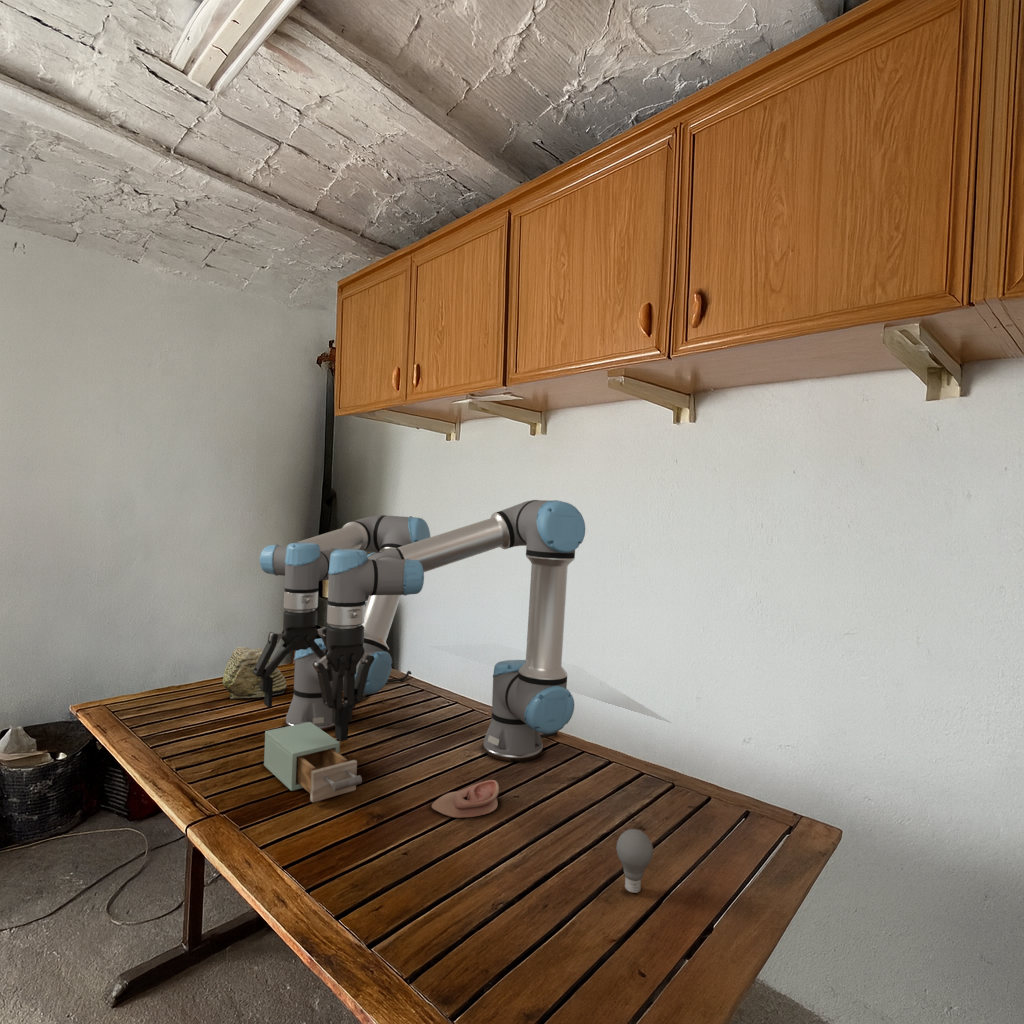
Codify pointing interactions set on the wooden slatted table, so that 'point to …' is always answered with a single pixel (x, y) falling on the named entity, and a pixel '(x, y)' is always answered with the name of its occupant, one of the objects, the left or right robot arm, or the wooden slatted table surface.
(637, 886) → the light bulb
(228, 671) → the fossil
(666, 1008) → the wooden slatted table surface
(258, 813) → the wooden slatted table surface
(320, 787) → the drawer
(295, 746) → the cabinet
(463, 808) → the anatomical model
